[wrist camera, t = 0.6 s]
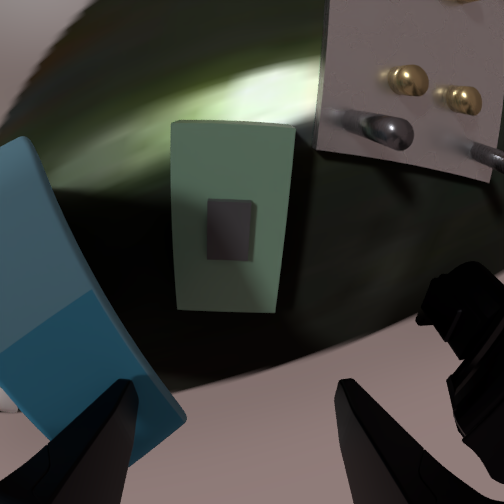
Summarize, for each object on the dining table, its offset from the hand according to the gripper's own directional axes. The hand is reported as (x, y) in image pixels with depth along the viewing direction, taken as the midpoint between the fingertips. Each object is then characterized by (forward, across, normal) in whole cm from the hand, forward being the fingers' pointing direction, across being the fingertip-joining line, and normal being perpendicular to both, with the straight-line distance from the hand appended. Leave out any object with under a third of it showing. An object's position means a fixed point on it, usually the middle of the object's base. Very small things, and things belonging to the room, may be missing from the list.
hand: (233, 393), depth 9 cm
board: (+11, 0, -2) cm, 11 cm away
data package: (+8, +13, +1) cm, 15 cm away
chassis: (+10, -10, -13) cm, 20 cm away
